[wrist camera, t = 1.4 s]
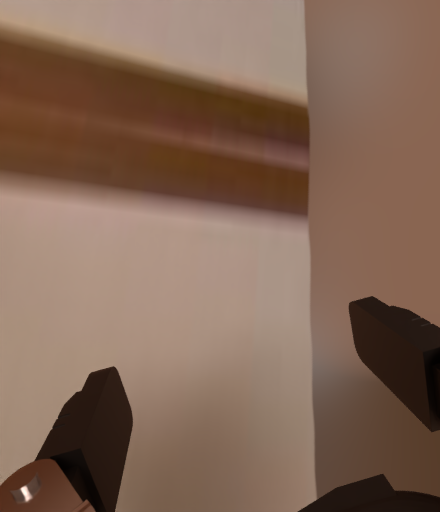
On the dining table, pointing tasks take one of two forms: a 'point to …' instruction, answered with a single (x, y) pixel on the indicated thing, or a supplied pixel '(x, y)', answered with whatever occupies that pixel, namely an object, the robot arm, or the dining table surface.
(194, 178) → the dining table surface
